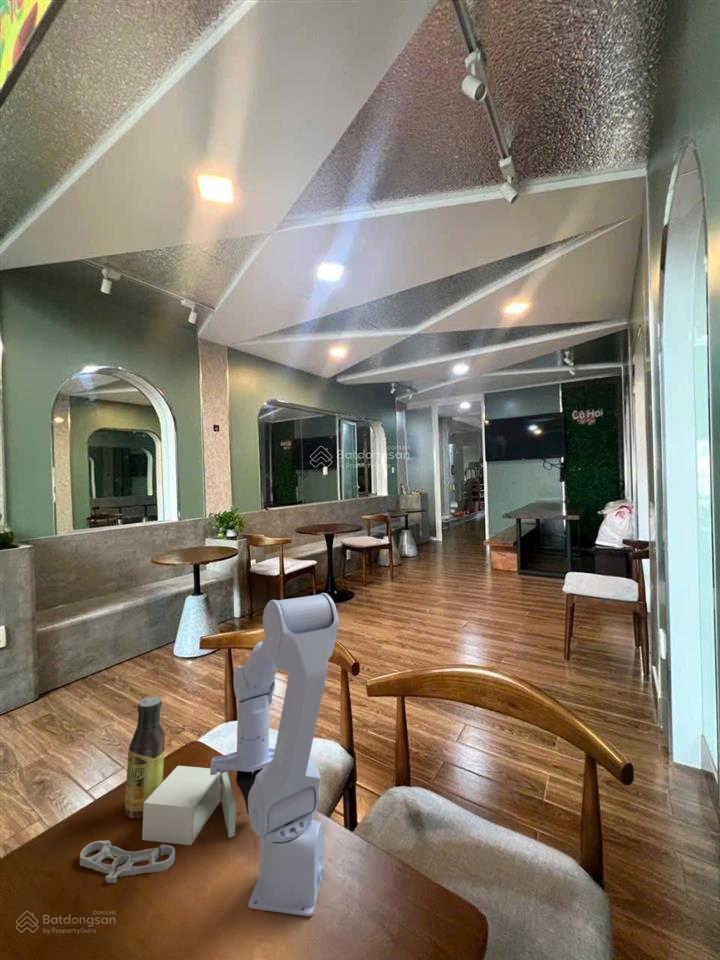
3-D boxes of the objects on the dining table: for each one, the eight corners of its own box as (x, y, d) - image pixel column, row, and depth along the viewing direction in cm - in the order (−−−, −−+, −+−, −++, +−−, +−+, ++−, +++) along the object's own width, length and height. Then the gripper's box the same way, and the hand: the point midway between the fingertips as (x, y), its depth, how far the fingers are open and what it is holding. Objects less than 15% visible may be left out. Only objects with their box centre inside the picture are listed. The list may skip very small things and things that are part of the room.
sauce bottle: (117, 812, 73) (122, 702, 75) (150, 792, 78) (154, 690, 80) (136, 827, 69) (141, 711, 71) (169, 805, 75) (173, 698, 76)
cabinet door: (226, 797, 76) (226, 769, 77) (235, 835, 67) (236, 803, 68) (219, 799, 76) (220, 770, 76) (228, 838, 67) (229, 805, 67)
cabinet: (219, 801, 75) (220, 769, 76) (190, 845, 66) (191, 807, 66) (176, 797, 77) (177, 765, 77) (142, 839, 67) (143, 802, 67)
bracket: (115, 822, 69) (179, 846, 64) (114, 834, 69) (179, 859, 63) (70, 857, 62) (139, 887, 57) (70, 870, 62) (138, 902, 56)
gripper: (293, 716, 77) (292, 789, 76) (216, 723, 74) (214, 798, 73) (292, 736, 70) (291, 817, 69) (208, 745, 68) (206, 828, 66)
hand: (251, 809), depth 71 cm, fingers closed
